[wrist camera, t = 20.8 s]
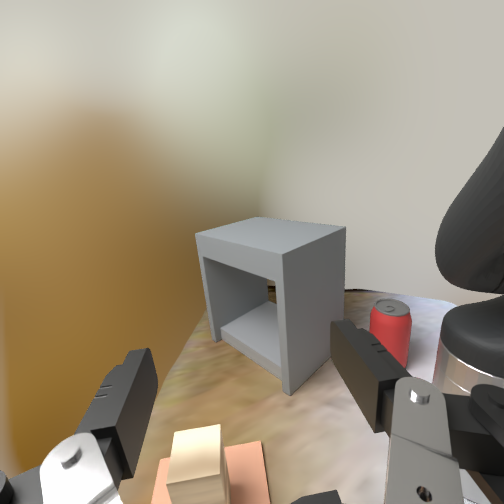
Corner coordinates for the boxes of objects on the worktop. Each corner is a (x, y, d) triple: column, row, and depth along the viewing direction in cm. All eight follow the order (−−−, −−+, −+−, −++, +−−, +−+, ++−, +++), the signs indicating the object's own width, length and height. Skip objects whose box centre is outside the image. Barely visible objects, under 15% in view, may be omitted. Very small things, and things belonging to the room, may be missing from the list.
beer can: (361, 361, 50) (363, 306, 47) (377, 345, 54) (381, 293, 50) (396, 380, 45) (403, 321, 42) (412, 361, 49) (419, 305, 46)
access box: (265, 308, 72) (257, 216, 64) (343, 344, 55) (345, 226, 47) (212, 339, 61) (194, 233, 53) (289, 396, 44) (281, 254, 36)
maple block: (189, 491, 32) (174, 432, 29) (230, 483, 32) (220, 424, 29) (184, 547, 27) (165, 483, 24) (232, 537, 28) (220, 473, 24)
